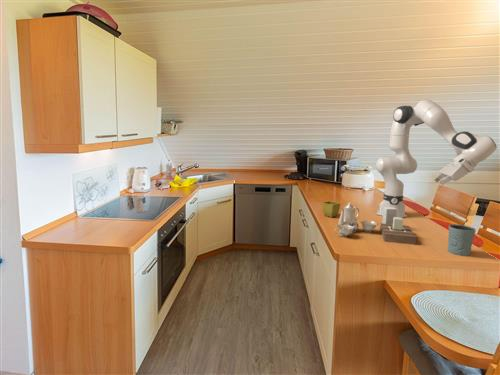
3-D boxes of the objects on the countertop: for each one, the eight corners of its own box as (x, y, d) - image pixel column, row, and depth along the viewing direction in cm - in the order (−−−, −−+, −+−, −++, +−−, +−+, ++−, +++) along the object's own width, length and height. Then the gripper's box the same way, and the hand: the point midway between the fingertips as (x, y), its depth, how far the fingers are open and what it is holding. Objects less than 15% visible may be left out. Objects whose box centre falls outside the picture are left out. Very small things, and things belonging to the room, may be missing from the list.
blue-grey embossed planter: (448, 254, 141) (451, 228, 139) (443, 247, 150) (446, 223, 148) (475, 258, 137) (478, 231, 135) (468, 250, 146) (471, 225, 144)
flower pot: (332, 218, 198) (332, 204, 197) (320, 215, 205) (321, 202, 203) (339, 216, 204) (340, 203, 202) (328, 213, 210) (329, 200, 209)
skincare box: (391, 227, 181) (393, 207, 179) (395, 229, 177) (397, 209, 175) (381, 227, 181) (383, 207, 179) (384, 229, 177) (386, 208, 175)
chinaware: (346, 243, 157) (351, 212, 153) (322, 231, 171) (326, 202, 166) (379, 234, 173) (385, 206, 169) (355, 224, 186) (359, 197, 182)
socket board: (380, 230, 176) (380, 222, 175) (407, 232, 172) (408, 225, 171) (384, 241, 157) (385, 233, 156) (415, 244, 153) (416, 236, 152)
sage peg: (391, 235, 167) (393, 217, 165) (399, 236, 166) (401, 217, 164) (392, 237, 163) (394, 218, 161) (401, 238, 162) (403, 219, 160)
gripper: (451, 157, 164) (428, 175, 168) (465, 160, 145) (439, 180, 149) (459, 166, 164) (436, 184, 168) (475, 170, 144) (448, 190, 149)
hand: (438, 182), depth 158 cm, fingers open, 8 cm apart
